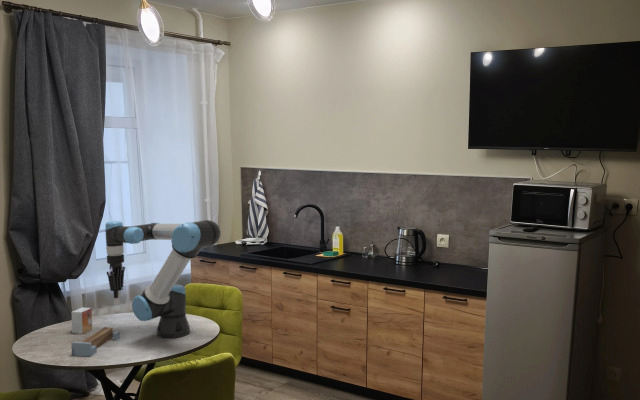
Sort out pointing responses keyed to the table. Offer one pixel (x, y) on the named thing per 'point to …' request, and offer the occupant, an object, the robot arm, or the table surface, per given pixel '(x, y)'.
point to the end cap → (83, 349)
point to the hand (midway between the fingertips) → (117, 304)
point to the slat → (100, 337)
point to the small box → (81, 320)
